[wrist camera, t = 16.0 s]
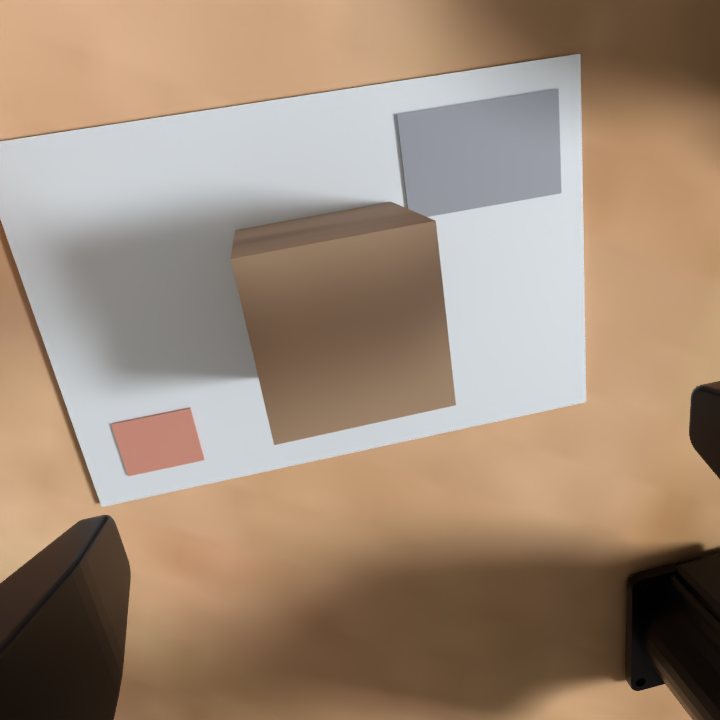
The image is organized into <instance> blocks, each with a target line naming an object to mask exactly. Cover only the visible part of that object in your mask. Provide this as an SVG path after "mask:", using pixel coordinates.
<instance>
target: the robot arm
mask: <svg viewBox="0 0 720 720" xmlns="http://www.w3.org/2000/svg"><path fill="white" fill-rule="evenodd" d="M689 436H690V440H691V443H692V445H693V447H694V449H695V450H696V451H697V452H698V454H699V455H700V456H701V457H702V458H703V460H704V461H705V462H706V463H707V464H708V466H709V467H710V468H711V469H712V470H713V472H714V473H715V474H716V475H717V476H718V478H719V479H720V381H718V382H713V383H708V384H704V385H700V386H697V387H696V388H695V389H694V390H693V392H692V394H691V406H690V425H689ZM130 578H131V575H130V565H129V561H128V558H127V555H126V552H125V549H124V546H123V543H122V541H121V538H120V535H119V532H118V529H117V526H116V524H115V521H114V520H113V518H112V517H111V516H109V515H102V516H97V517H92V518H88V519H83V520H81V521H79V522H77V523H76V524H75V525H73V526H72V527H71V528H70V529H68V530H67V531H66V532H65V533H63V534H62V535H61V536H60V537H58V538H57V539H56V540H55V541H53V542H52V543H51V544H49V545H48V546H47V547H46V548H44V549H43V550H42V551H41V552H39V553H38V554H37V555H36V556H34V557H33V558H32V559H31V560H29V561H28V562H27V563H25V564H24V565H23V566H22V567H20V568H19V569H18V570H17V571H15V572H14V573H13V574H12V575H10V576H9V577H8V578H7V579H5V580H4V581H3V582H1V583H0V720H114V716H115V711H116V706H117V701H118V697H119V691H120V685H121V680H122V673H123V663H124V652H125V640H126V628H127V616H128V603H129V591H130ZM626 681H627V682H628V684H629V685H630V687H631V688H632V689H633V690H635V691H640V690H644V689H648V688H651V687H655V686H659V685H662V684H666V685H667V687H668V688H669V689H670V691H671V692H672V693H673V695H674V696H675V697H676V698H677V700H678V701H679V702H680V704H681V705H682V706H683V708H684V709H685V710H686V711H687V713H688V714H689V715H690V717H691V718H692V719H693V720H720V552H719V553H715V554H711V555H707V556H703V557H699V558H695V559H691V560H687V561H683V562H679V563H675V564H671V565H667V566H664V567H660V568H656V569H652V570H648V571H644V572H640V573H636V574H634V575H633V576H631V577H630V578H629V580H628V582H627V619H626Z"/></svg>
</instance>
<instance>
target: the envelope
mask: <svg viewBox="0 0 720 720" xmlns="http://www.w3.org/2000/svg"><path fill="white" fill-rule="evenodd" d="M387 202H393V203H395V204H398V205H400V206H402V207H405V208H407V209H409V210H412V211H414V212H416V213H419V214H421V215H424V216H426V217H428V218H431V219H433V220H435V221H436V227H437V236H438V245H439V254H440V263H441V273H442V282H443V291H444V300H445V309H446V318H447V327H448V337H449V346H450V355H451V364H452V373H453V382H454V391H455V401H456V405H455V406H450V407H446V408H441V409H437V410H432V411H428V412H423V413H418V414H414V415H409V416H405V417H400V418H396V419H391V420H387V421H382V422H377V423H373V424H368V425H364V426H359V427H355V428H350V429H346V430H341V431H337V432H332V433H327V434H323V435H318V436H314V437H309V438H305V439H300V440H296V441H291V442H287V443H282V444H277V445H274V442H273V438H272V434H271V430H270V425H269V421H268V417H267V412H266V408H265V404H264V400H263V395H262V391H261V387H260V382H259V378H258V374H257V370H256V365H255V361H254V357H253V352H252V348H251V344H250V340H249V335H248V331H247V327H246V322H245V318H244V314H243V310H242V305H241V301H240V297H239V292H238V288H237V284H236V280H235V275H234V271H233V267H232V262H231V254H232V247H233V240H234V233H235V230H238V229H244V228H249V227H255V226H260V225H266V224H271V223H277V222H282V221H288V220H293V219H299V218H304V217H310V216H315V215H321V214H326V213H332V212H337V211H343V210H348V209H354V208H359V207H365V206H370V205H376V204H382V203H387ZM0 220H1V223H2V225H3V228H4V231H5V234H6V237H7V240H8V242H9V245H10V248H11V251H12V254H13V257H14V259H15V262H16V265H17V268H18V271H19V274H20V277H21V279H22V282H23V285H24V288H25V291H26V294H27V296H28V299H29V302H30V305H31V308H32V311H33V313H34V316H35V319H36V322H37V325H38V328H39V330H40V333H41V336H42V339H43V342H44V345H45V348H46V350H47V353H48V356H49V359H50V362H51V365H52V367H53V370H54V373H55V376H56V379H57V382H58V384H59V387H60V390H61V393H62V396H63V399H64V402H65V404H66V407H67V410H68V413H69V416H70V419H71V421H72V424H73V427H74V430H75V433H76V436H77V438H78V441H79V444H80V447H81V450H82V453H83V456H84V458H85V461H86V464H87V467H88V470H89V473H90V475H91V478H92V481H93V484H94V487H95V490H96V492H97V495H98V498H99V501H100V504H101V507H104V506H109V505H113V504H118V503H123V502H127V501H132V500H136V499H141V498H146V497H150V496H155V495H159V494H164V493H169V492H173V491H178V490H183V489H187V488H192V487H196V486H201V485H206V484H210V483H215V482H219V481H224V480H229V479H233V478H238V477H243V476H247V475H252V474H256V473H261V472H266V471H270V470H275V469H279V468H284V467H289V466H293V465H298V464H303V463H307V462H312V461H316V460H321V459H326V458H330V457H335V456H340V455H344V454H349V453H353V452H358V451H363V450H367V449H372V448H376V447H381V446H386V445H390V444H395V443H400V442H404V441H409V440H413V439H418V438H423V437H427V436H432V435H436V434H441V433H446V432H450V431H455V430H460V429H464V428H469V427H473V426H478V425H483V424H487V423H492V422H496V421H501V420H506V419H510V418H515V417H520V416H524V415H529V414H533V413H538V412H543V411H547V410H552V409H556V408H561V407H566V406H570V405H575V404H580V403H584V402H586V361H585V300H584V239H583V179H582V118H581V57H580V54H575V55H568V56H561V57H555V58H548V59H542V60H535V61H528V62H522V63H515V64H509V65H502V66H495V67H489V68H482V69H476V70H469V71H462V72H456V73H449V74H442V75H436V76H429V77H423V78H416V79H409V80H403V81H396V82H390V83H383V84H376V85H370V86H363V87H357V88H350V89H343V90H337V91H330V92H323V93H317V94H310V95H304V96H297V97H290V98H284V99H277V100H271V101H264V102H257V103H251V104H244V105H238V106H231V107H224V108H218V109H211V110H204V111H198V112H191V113H185V114H178V115H171V116H165V117H158V118H152V119H145V120H138V121H132V122H125V123H119V124H112V125H105V126H99V127H92V128H85V129H79V130H72V131H66V132H59V133H52V134H46V135H39V136H33V137H26V138H19V139H13V140H6V141H0Z"/></svg>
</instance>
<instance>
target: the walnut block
mask: <svg viewBox="0 0 720 720" xmlns="http://www.w3.org/2000/svg"><path fill="white" fill-rule="evenodd" d="M231 262H232V267H233V271H234V275H235V280H236V284H237V288H238V292H239V297H240V301H241V305H242V310H243V314H244V318H245V322H246V327H247V331H248V335H249V340H250V344H251V348H252V352H253V357H254V361H255V365H256V370H257V374H258V378H259V382H260V387H261V391H262V395H263V400H264V404H265V408H266V412H267V417H268V421H269V425H270V430H271V434H272V438H273V442H274V445H277V444H282V443H287V442H291V441H296V440H300V439H305V438H309V437H314V436H318V435H323V434H327V433H332V432H337V431H341V430H346V429H350V428H355V427H359V426H364V425H368V424H373V423H377V422H382V421H387V420H391V419H396V418H400V417H405V416H409V415H414V414H418V413H423V412H428V411H432V410H437V409H441V408H446V407H450V406H455V405H456V401H455V391H454V382H453V373H452V364H451V355H450V346H449V337H448V327H447V318H446V309H445V300H444V291H443V282H442V273H441V263H440V254H439V245H438V236H437V227H436V221H435V220H433V219H431V218H428V217H426V216H424V215H421V214H419V213H416V212H414V211H412V210H409V209H407V208H405V207H402V206H400V205H398V204H395V203H393V202H387V203H382V204H376V205H370V206H365V207H359V208H354V209H348V210H343V211H337V212H332V213H326V214H321V215H315V216H310V217H304V218H299V219H293V220H288V221H282V222H277V223H271V224H266V225H260V226H255V227H249V228H244V229H238V230H235V233H234V240H233V247H232V254H231Z"/></svg>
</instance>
